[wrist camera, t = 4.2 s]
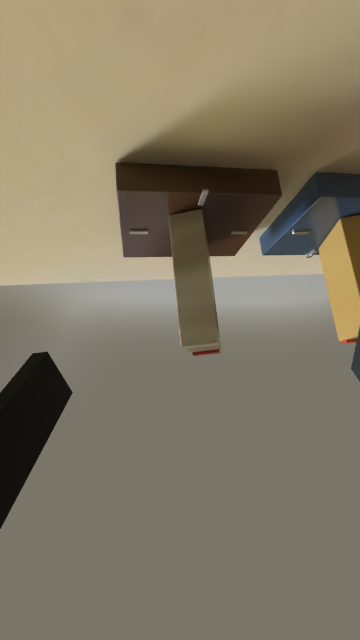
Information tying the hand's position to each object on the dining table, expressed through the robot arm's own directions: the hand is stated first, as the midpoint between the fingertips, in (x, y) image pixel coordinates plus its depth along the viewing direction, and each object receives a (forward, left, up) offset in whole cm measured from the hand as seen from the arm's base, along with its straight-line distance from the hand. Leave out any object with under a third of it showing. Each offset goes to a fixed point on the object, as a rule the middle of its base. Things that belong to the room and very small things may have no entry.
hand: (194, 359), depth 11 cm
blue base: (+16, -7, -13) cm, 22 cm away
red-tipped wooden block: (+16, -7, -11) cm, 21 cm away
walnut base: (+2, -7, -13) cm, 15 cm away
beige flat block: (+2, -7, -11) cm, 13 cm away
